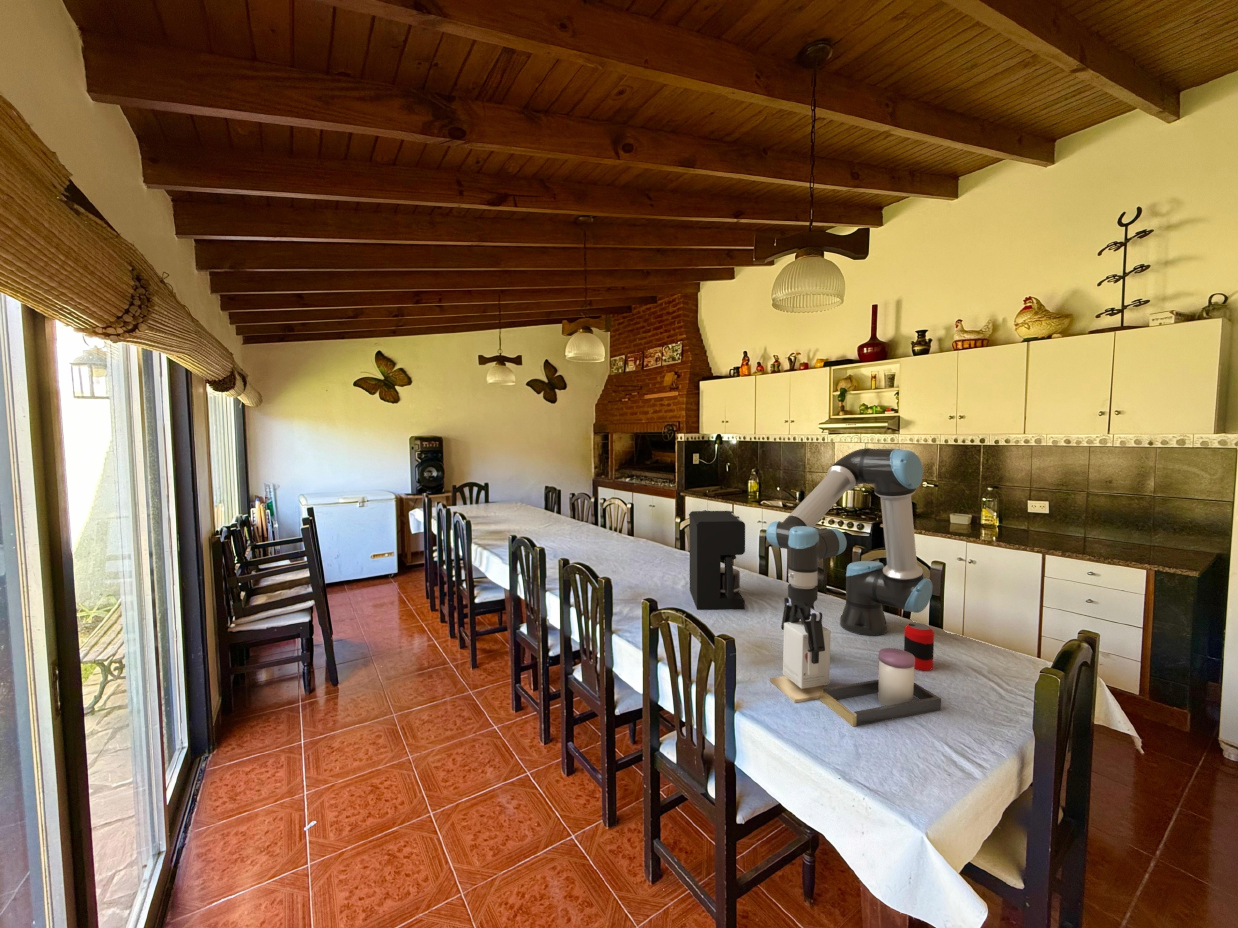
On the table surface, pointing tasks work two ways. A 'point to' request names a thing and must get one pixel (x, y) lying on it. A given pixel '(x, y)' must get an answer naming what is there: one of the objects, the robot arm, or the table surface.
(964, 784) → the table surface
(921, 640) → the soda can
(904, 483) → the robot arm
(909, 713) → the grey tray
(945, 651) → the table surface
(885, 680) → the cream lidded canister
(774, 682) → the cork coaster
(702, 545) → the coffee maker
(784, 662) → the supplement box
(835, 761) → the table surface
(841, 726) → the table surface
